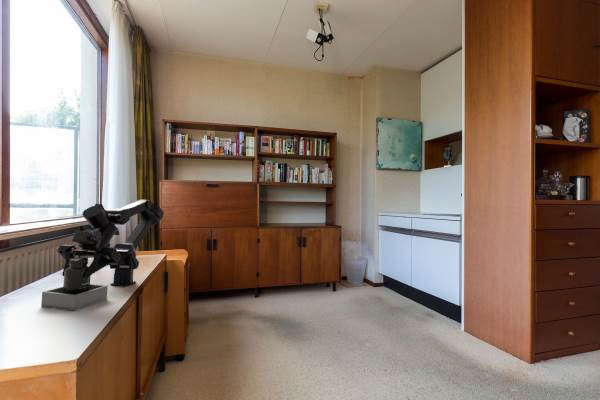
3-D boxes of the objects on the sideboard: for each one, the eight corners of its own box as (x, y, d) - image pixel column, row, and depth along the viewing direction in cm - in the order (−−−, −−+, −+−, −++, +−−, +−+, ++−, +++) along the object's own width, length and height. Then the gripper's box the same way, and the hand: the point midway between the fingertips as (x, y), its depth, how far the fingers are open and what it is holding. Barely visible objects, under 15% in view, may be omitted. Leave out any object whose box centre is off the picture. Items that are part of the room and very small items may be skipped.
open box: (77, 295, 101) (77, 282, 101) (106, 299, 99) (107, 285, 99) (41, 306, 90) (42, 291, 90) (73, 311, 87) (74, 295, 87)
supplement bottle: (87, 298, 93) (90, 260, 93) (60, 301, 90) (62, 261, 90) (90, 292, 99) (93, 256, 99) (65, 294, 96) (67, 257, 96)
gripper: (63, 220, 99) (29, 260, 88) (116, 223, 98) (89, 263, 87) (81, 241, 107) (51, 280, 96) (130, 244, 106) (107, 283, 95)
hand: (74, 276), depth 93 cm, fingers closed on supplement bottle, 7 cm apart
